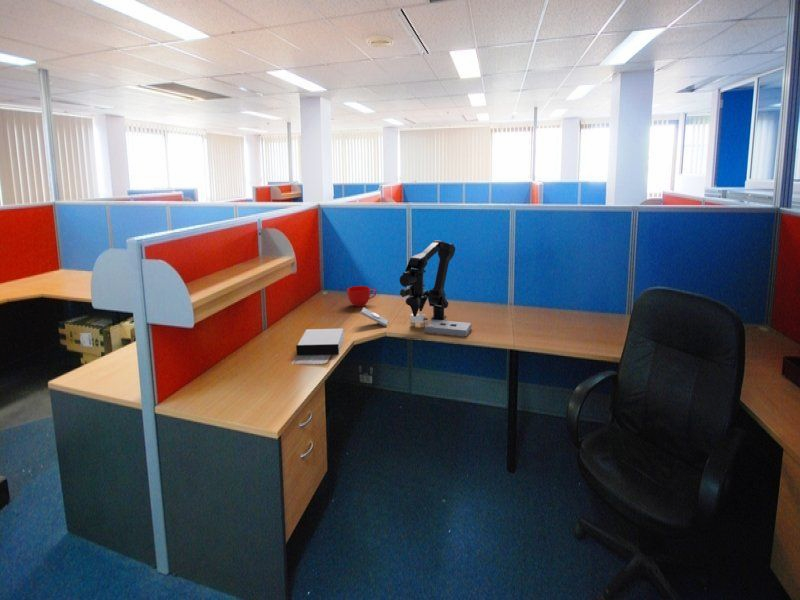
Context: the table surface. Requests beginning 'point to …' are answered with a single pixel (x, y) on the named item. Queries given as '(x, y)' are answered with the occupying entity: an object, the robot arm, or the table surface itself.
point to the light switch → (374, 316)
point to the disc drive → (320, 342)
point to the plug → (418, 319)
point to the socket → (448, 327)
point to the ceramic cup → (359, 295)
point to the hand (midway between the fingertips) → (417, 313)
